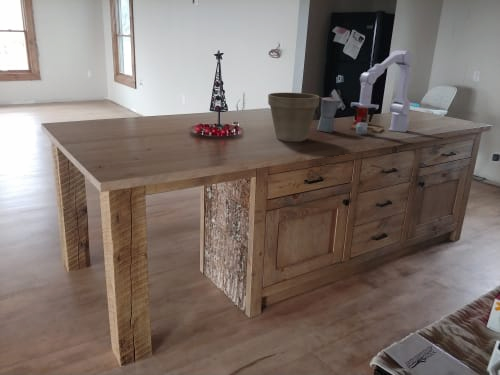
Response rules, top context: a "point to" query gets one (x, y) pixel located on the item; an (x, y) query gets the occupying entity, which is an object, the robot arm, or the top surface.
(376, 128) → the brown wooden panels
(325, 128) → the moka pot
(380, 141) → the top surface
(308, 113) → the plant pot
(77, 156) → the top surface
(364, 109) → the canned food
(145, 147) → the top surface
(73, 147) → the top surface
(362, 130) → the grey round flask
